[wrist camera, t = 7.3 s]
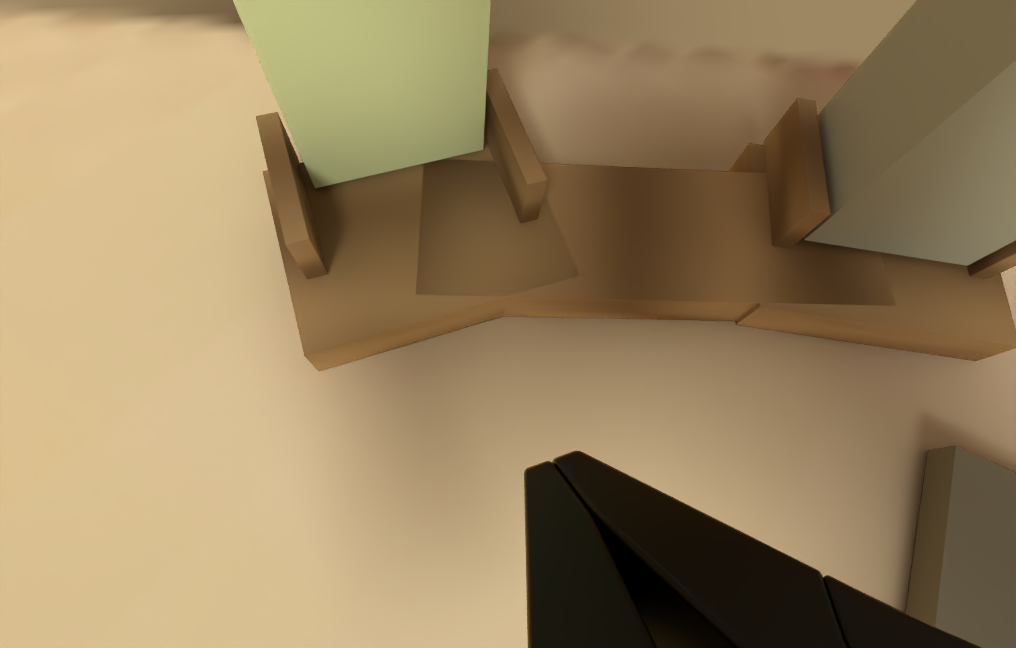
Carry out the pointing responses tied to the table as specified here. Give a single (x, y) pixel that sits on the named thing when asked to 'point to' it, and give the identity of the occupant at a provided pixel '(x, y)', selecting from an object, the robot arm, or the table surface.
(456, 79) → the sage key
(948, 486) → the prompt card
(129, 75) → the table surface
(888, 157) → the slate key
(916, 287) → the brown holder tray
